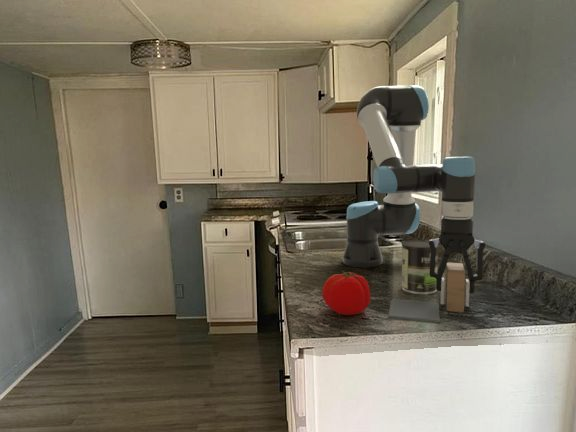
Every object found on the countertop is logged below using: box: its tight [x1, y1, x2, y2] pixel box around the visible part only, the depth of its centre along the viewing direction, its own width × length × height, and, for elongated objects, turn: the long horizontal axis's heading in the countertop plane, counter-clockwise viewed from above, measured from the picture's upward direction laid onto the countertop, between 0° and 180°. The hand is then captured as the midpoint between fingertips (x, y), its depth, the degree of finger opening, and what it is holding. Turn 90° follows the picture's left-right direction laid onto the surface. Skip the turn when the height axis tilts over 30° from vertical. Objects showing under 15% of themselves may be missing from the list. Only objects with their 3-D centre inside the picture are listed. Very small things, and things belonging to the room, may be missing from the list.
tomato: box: [321, 269, 372, 316], centre depth 99 cm, size 13×12×11 cm
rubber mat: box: [387, 298, 441, 324], centre depth 98 cm, size 12×12×1 cm
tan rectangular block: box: [444, 262, 466, 313], centre depth 100 cm, size 7×4×11 cm, turn 160°
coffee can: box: [401, 239, 439, 296], centre depth 114 cm, size 10×10×14 cm
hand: (454, 303), depth 101 cm, fingers open, 5 cm apart
